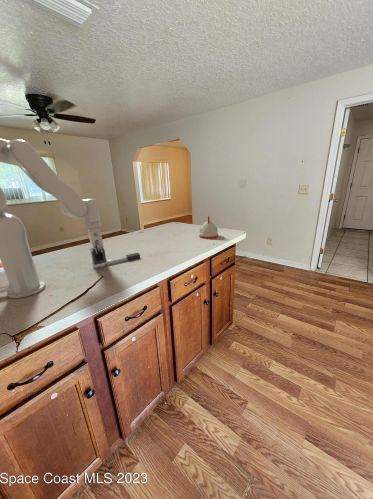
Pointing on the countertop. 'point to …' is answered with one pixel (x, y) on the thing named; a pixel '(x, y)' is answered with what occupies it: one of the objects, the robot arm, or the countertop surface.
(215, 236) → the grey bell
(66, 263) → the countertop surface
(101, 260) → the socket
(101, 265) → the ratchet
